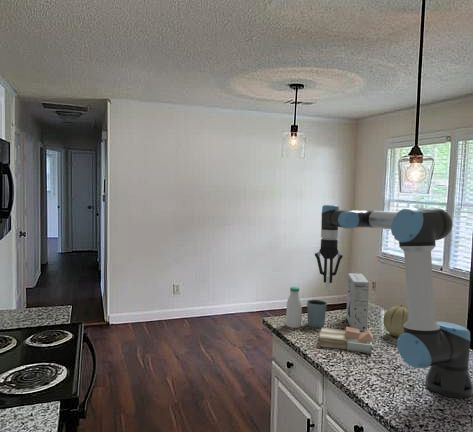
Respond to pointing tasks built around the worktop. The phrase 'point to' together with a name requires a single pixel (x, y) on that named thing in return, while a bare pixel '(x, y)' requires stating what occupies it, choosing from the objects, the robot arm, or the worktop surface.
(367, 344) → the tray
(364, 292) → the cereal box
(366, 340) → the tile
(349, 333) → the tile
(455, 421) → the worktop surface
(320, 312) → the grey-blue hollow tapered cylinder
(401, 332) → the cantaloupe
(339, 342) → the board
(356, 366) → the worktop surface
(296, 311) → the milk bottle
